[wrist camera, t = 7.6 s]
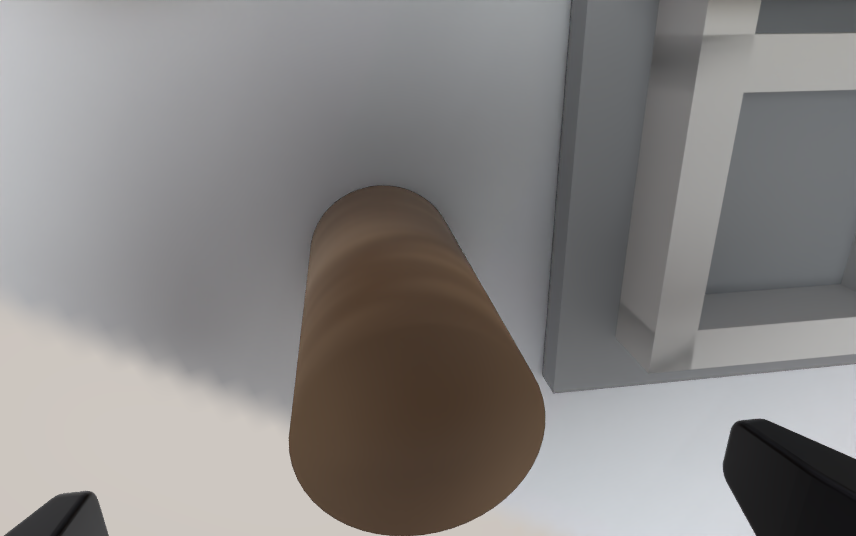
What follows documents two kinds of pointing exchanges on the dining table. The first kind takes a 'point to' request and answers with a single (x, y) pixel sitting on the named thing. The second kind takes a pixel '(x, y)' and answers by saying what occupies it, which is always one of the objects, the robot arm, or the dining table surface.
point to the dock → (704, 192)
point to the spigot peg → (405, 375)
